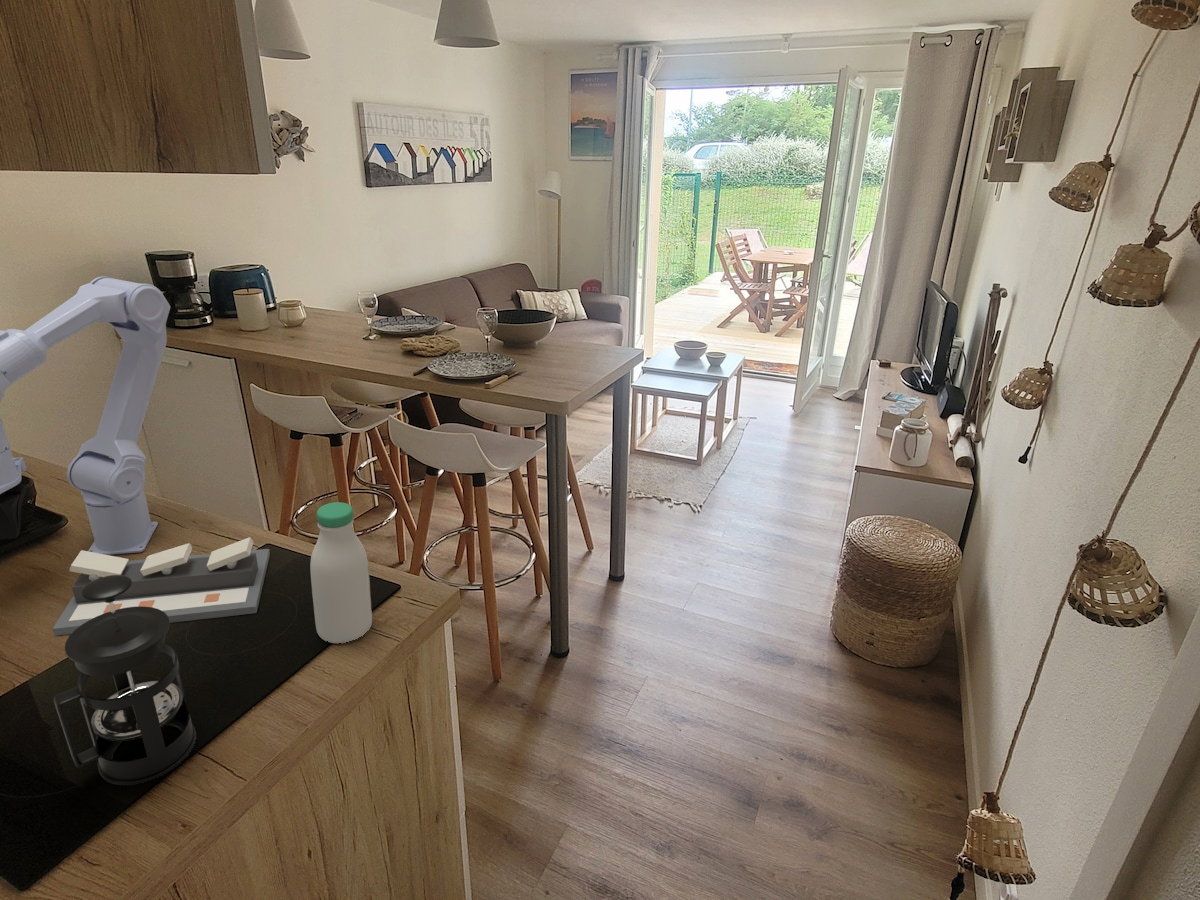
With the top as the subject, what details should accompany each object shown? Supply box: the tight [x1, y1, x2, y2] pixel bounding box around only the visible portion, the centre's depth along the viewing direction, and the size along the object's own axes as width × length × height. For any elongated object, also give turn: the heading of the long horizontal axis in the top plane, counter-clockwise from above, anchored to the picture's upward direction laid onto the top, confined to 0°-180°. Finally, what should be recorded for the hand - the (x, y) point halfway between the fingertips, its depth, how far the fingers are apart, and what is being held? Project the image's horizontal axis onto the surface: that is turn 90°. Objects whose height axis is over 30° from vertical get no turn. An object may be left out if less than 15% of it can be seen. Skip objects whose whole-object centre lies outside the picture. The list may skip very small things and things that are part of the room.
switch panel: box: [52, 548, 271, 637], centre depth 101 cm, size 16×25×4 cm, turn 108°
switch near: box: [69, 549, 130, 581], centre depth 97 cm, size 4×6×2 cm, turn 108°
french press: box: [53, 575, 197, 787], centre depth 71 cm, size 12×9×23 cm
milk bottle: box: [309, 501, 373, 644], centre depth 93 cm, size 8×8×20 cm
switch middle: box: [140, 542, 193, 576], centre depth 100 cm, size 4×6×2 cm, turn 108°
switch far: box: [207, 536, 254, 571], centre depth 102 cm, size 4×6×2 cm, turn 108°
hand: (9, 536), depth 95 cm, fingers closed
